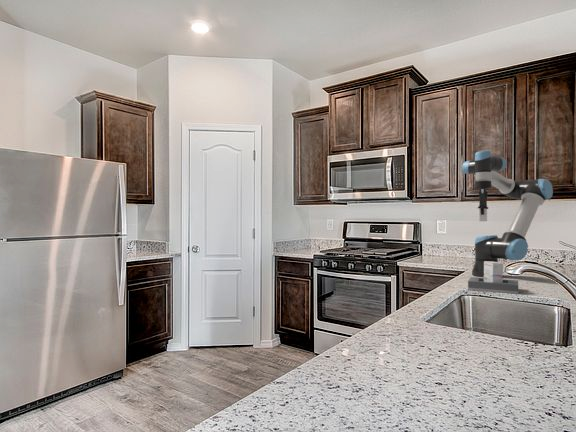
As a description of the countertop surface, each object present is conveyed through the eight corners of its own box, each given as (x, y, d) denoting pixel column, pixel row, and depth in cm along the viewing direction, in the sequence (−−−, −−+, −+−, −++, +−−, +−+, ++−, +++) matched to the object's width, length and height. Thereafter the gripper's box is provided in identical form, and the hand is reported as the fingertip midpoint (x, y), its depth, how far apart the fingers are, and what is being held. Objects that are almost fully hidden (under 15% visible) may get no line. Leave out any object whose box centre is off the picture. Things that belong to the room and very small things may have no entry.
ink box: (503, 288, 171) (503, 262, 171) (492, 288, 171) (492, 262, 172) (493, 285, 180) (493, 260, 180) (483, 285, 180) (483, 260, 180)
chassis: (470, 285, 187) (470, 277, 187) (517, 288, 177) (517, 280, 177) (468, 289, 175) (468, 281, 175) (518, 293, 165) (518, 284, 165)
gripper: (476, 183, 209) (477, 221, 209) (473, 179, 188) (473, 221, 188) (492, 182, 206) (492, 221, 205) (490, 178, 184) (490, 221, 184)
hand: (483, 221), depth 197 cm, fingers open, 13 cm apart
